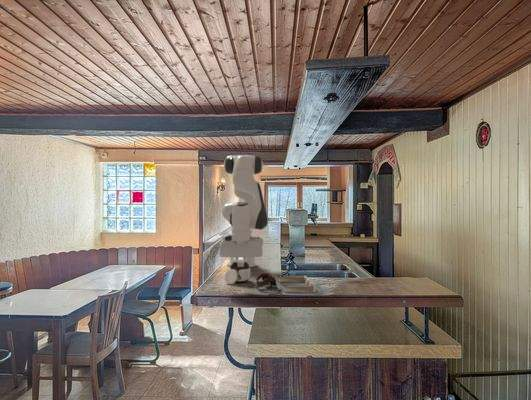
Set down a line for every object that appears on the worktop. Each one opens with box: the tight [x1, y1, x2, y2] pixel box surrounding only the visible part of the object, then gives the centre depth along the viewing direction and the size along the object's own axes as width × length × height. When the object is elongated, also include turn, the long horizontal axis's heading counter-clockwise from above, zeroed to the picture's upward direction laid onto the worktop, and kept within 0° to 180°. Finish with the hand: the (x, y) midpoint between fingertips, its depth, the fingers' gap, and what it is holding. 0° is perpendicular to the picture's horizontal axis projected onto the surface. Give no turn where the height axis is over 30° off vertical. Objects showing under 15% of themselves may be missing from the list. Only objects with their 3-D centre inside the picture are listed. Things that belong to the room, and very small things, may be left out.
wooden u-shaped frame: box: [277, 275, 317, 293], centre depth 167 cm, size 20×15×3 cm
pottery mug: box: [255, 272, 278, 289], centre depth 164 cm, size 12×10×8 cm
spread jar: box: [224, 257, 251, 285], centre depth 174 cm, size 12×11×12 cm
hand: (240, 266), depth 163 cm, fingers closed
